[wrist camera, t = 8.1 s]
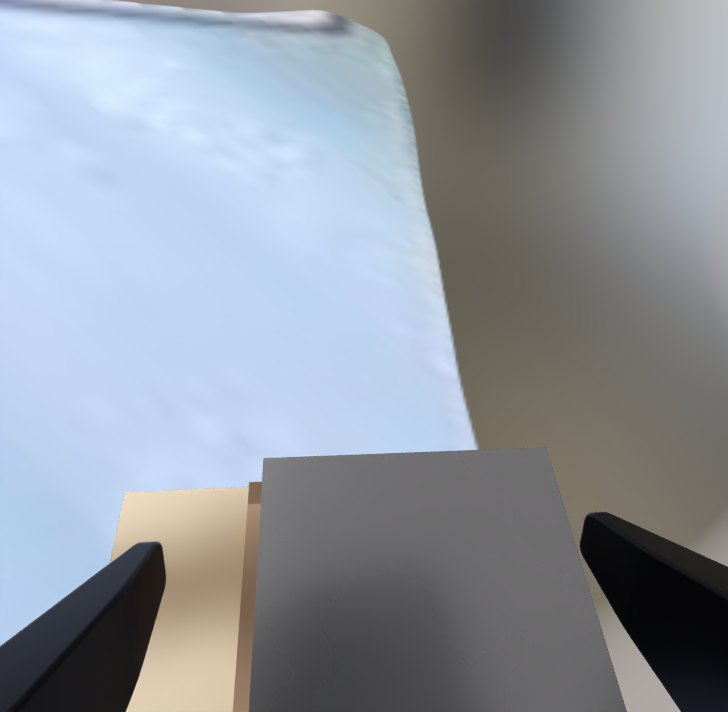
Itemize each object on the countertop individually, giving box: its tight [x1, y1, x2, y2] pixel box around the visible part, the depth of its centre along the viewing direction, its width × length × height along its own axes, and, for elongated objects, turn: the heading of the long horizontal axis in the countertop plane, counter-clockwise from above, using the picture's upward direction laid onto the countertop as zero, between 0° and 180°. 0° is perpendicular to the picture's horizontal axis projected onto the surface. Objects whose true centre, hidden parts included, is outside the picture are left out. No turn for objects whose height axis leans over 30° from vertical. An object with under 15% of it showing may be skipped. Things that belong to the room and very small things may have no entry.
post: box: [249, 447, 627, 712], centre depth 10 cm, size 4×4×11 cm
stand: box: [110, 482, 262, 712], centre depth 13 cm, size 8×13×4 cm, turn 94°
